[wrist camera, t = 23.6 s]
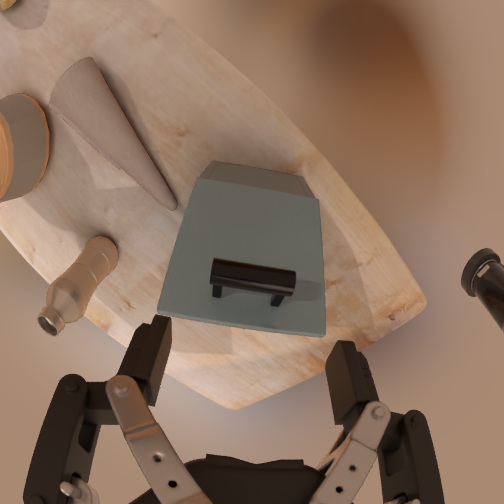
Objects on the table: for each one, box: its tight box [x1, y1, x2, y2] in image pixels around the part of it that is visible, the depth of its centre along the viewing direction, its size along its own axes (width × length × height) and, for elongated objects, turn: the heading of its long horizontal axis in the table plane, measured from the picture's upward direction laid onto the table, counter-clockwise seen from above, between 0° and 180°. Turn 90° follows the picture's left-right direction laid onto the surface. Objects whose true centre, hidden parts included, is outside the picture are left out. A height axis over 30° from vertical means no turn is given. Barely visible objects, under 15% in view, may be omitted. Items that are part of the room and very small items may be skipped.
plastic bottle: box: [37, 236, 118, 336], centre depth 36 cm, size 6×7×20 cm
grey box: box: [199, 161, 315, 199], centre depth 37 cm, size 14×13×10 cm
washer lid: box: [157, 178, 326, 338], centre depth 23 cm, size 15×13×5 cm
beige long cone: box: [48, 57, 177, 211], centre depth 33 cm, size 8×9×26 cm
